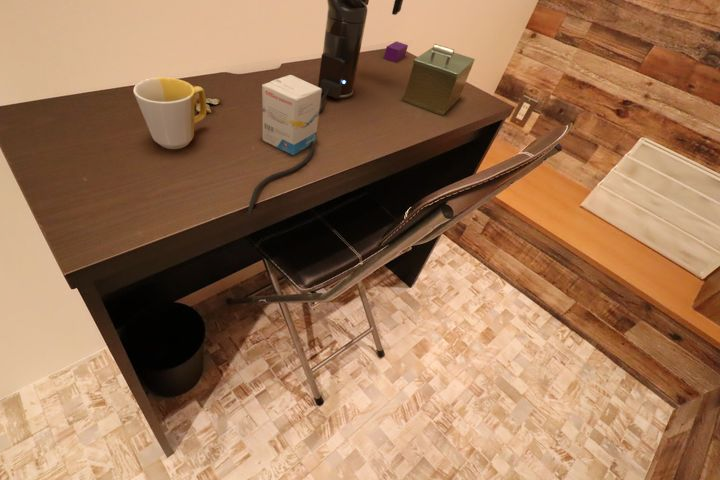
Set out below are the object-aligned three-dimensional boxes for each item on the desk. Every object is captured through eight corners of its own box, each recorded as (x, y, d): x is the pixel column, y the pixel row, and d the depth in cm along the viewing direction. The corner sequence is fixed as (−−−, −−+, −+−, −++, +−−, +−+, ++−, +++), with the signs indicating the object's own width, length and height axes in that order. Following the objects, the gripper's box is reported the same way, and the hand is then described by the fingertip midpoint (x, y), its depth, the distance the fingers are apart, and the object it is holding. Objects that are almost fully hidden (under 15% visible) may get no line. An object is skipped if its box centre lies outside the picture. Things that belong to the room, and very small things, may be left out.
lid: (456, 77, 89) (464, 56, 85) (412, 62, 92) (418, 41, 88) (473, 62, 98) (481, 42, 95) (433, 49, 102) (439, 29, 98)
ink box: (316, 142, 79) (323, 87, 71) (292, 156, 74) (296, 99, 66) (286, 127, 82) (289, 72, 74) (261, 140, 77) (261, 83, 69)
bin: (442, 115, 96) (457, 76, 89) (402, 100, 100) (413, 62, 92) (458, 99, 106) (473, 62, 98) (421, 85, 109) (433, 49, 102)
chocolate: (395, 62, 120) (398, 50, 117) (383, 58, 121) (386, 46, 118) (404, 56, 125) (408, 45, 122) (393, 52, 126) (396, 41, 123)
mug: (162, 161, 68) (150, 106, 60) (137, 137, 72) (122, 83, 64) (225, 142, 75) (221, 90, 67) (199, 121, 79) (192, 70, 72)
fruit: (206, 116, 81) (204, 99, 78) (171, 108, 82) (168, 91, 79) (221, 101, 87) (220, 85, 84) (189, 93, 87) (186, 77, 84)
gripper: (362, -84, 80) (348, 4, 92) (421, -70, 76) (399, 19, 88) (376, -83, 85) (361, 0, 97) (432, -71, 81) (410, 14, 93)
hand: (379, 9), depth 93 cm, fingers open, 8 cm apart
